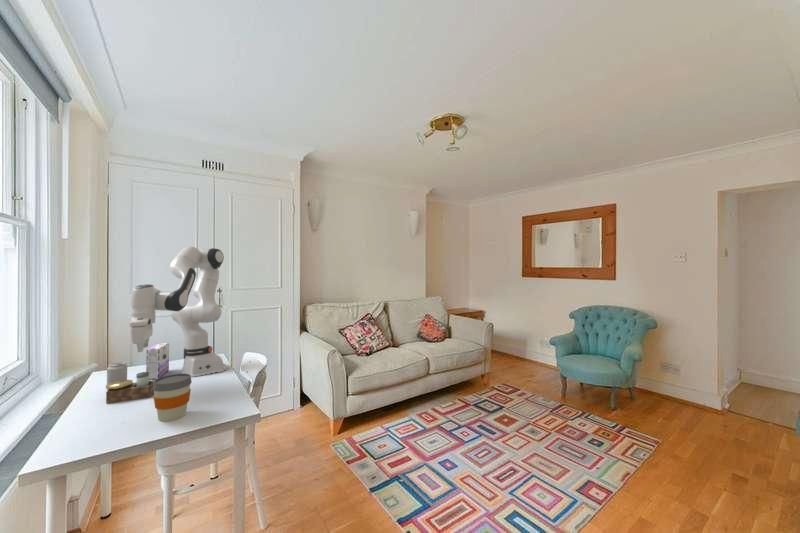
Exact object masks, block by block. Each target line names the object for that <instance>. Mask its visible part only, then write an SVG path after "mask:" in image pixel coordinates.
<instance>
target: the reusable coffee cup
mask: <svg viewBox="0 0 800 533" xmlns="http://www.w3.org/2000/svg"><path fill="white" fill-rule="evenodd" d="M153 380H154V383H153V390H154V393H153V395H152V396H153V403H154V408H155V409H156V413H157V420H158V421H159V422H164V423H166V422H172V421H177V420H179V419H181V418H183V417H185V416H186V414H187V408H188V403H189V402H190V398H191V397H190V396H191V391H192V390H191V384H192V377H191V375H190V374H181V373H173V374H168V375H163V376H162V377H160V378H158V379H153Z"/></svg>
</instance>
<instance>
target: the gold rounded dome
mask: <svg viewBox="0 0 800 533" xmlns="http://www.w3.org/2000/svg"><path fill="white" fill-rule="evenodd" d="M132 383H134V382H133V380H132V379H127V380H120V381H115V382H111V383H109V384H107V383H106V385H105V389H107V390H109V389H120V388H124V387H127V386H129V385H131V384H132Z"/></svg>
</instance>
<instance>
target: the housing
mask: <svg viewBox="0 0 800 533" xmlns="http://www.w3.org/2000/svg"><path fill="white" fill-rule="evenodd" d="M154 380H155V379H153V380H149V385H147V386H140V387H137V381H135V382H133V383H132V384H131V385H129V386H127V387H124V388H120V389H107V391H106V392H105V393H106V396H105V404H106V405H107V404H115V403H119V402H125V401H133V400H139V399H146V398H151V397H152V396H154V390H153V383H154Z"/></svg>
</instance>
